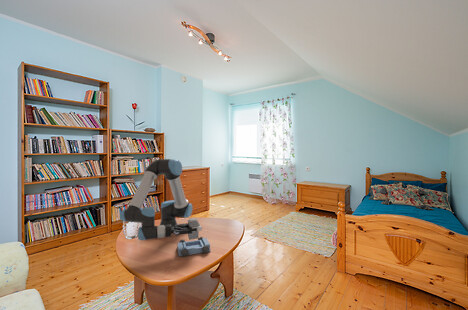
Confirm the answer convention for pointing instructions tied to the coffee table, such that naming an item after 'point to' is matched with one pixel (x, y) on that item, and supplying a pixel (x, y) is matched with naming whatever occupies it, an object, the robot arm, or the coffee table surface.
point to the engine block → (193, 223)
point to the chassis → (193, 247)
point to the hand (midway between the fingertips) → (200, 226)
